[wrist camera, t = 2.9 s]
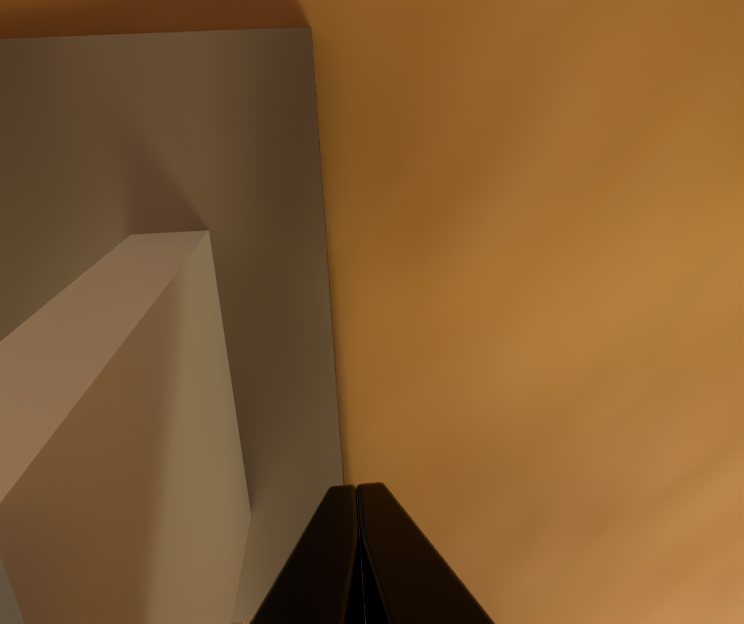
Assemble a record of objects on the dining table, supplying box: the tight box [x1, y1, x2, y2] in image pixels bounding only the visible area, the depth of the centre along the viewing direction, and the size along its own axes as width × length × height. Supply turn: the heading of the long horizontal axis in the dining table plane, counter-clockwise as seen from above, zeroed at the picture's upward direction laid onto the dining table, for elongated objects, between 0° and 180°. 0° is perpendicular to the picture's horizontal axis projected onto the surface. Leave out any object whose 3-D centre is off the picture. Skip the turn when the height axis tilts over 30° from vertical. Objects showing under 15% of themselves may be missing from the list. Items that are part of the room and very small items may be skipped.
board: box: [0, 27, 344, 623], centre depth 13 cm, size 14×14×1 cm
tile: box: [0, 230, 251, 624], centre depth 9 cm, size 2×7×8 cm, turn 2°
